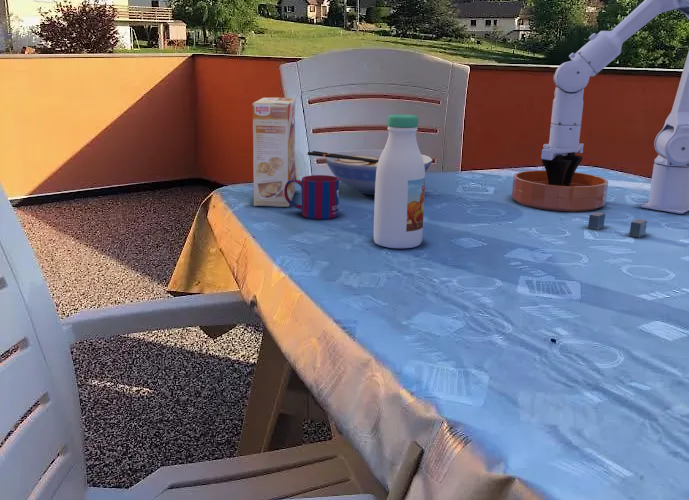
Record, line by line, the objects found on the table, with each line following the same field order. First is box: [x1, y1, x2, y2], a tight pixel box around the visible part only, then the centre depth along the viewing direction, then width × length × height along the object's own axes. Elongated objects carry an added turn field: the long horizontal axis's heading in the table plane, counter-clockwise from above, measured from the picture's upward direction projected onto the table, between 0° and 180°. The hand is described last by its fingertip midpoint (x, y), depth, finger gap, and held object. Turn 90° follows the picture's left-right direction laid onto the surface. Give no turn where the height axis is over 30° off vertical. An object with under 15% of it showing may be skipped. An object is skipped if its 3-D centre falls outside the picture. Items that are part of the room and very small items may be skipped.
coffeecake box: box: [252, 97, 296, 208], centre depth 139 cm, size 15×7×20 cm, turn 179°
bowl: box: [511, 169, 609, 212], centre depth 144 cm, size 18×18×5 cm
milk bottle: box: [373, 114, 426, 249], centre depth 110 cm, size 8×8×20 cm
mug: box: [284, 174, 340, 220], centre depth 129 cm, size 7×10×7 cm
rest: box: [587, 211, 648, 239], centre depth 122 cm, size 9×3×2 cm, turn 48°
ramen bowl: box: [307, 149, 433, 196], centre depth 150 cm, size 25×23×8 cm
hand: (558, 191), depth 144 cm, fingers open, 3 cm apart
